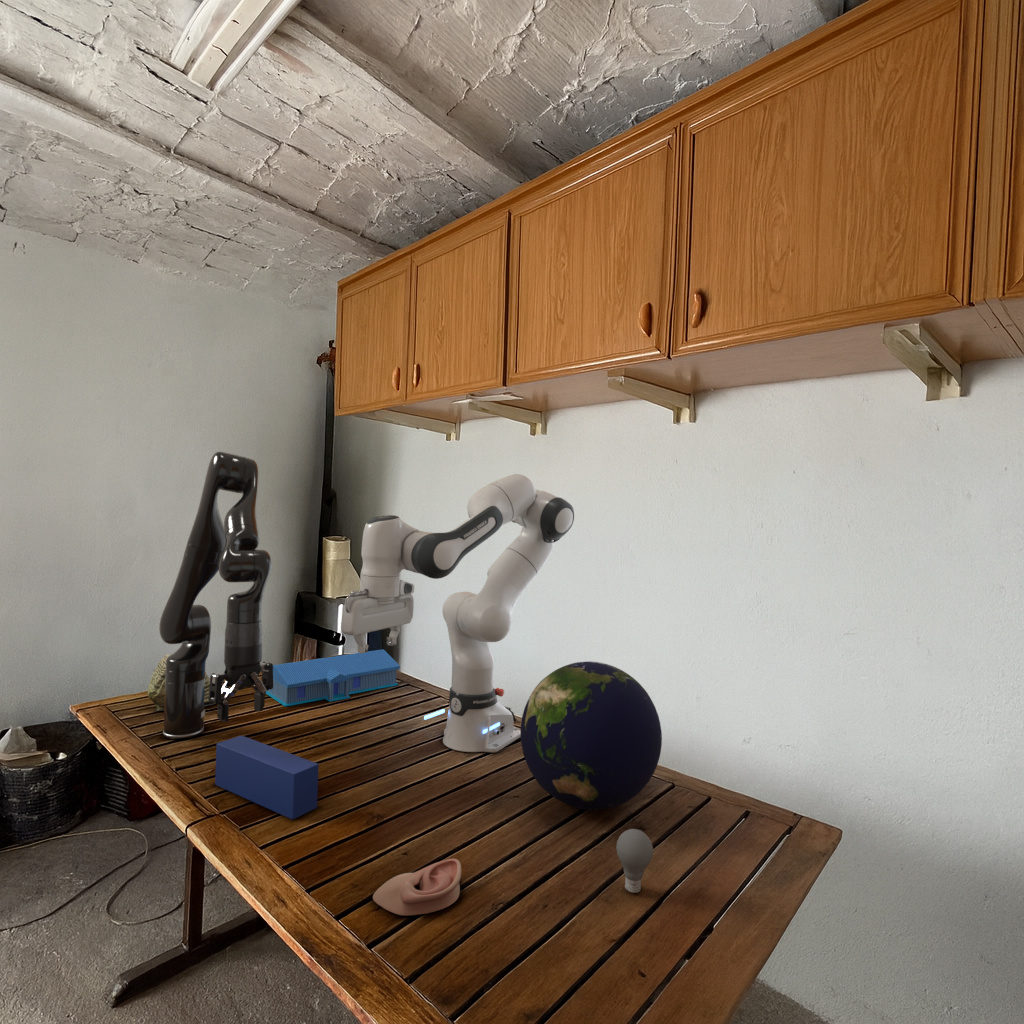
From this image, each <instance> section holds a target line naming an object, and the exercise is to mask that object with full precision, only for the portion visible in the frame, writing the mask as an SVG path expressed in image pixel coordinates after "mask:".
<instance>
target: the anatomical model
mask: <svg viewBox="0 0 1024 1024" xmlns="http://www.w3.org/2000/svg"><path fill="white" fill-rule="evenodd" d="M461 879H462V864H461V862H460V860H459V859H457V858H448V859H447V858H446V859H444V860H443V859H442V860H440V861H437V862H435V863H432V864H430V865H428V866H425V867H423V868H421V869H419V870H417V871H414V872H404V873H401V874H397V875H395V876H393V877H392V878H390V879H388V880H387V881H385V882H384V883H383V884H382V885H381V886H379V887H378V888H377V890H376V891H375V892H374V893H373V895H372V900H373V902H374V903H376V904H377V905H378V906H380V907H381V908H382V909H384V910H386V911H388V912H390V913H392V914H394V915H397V916H403V917H404V916H405V917H407V916H417V915H423V914H430V913H435V912H437V911H441V910H444V909H445V908H448V907H450V906H451V905H452V904H455V902H456V901H457V900H458V899H459V897H460V893H461V885H460V881H461Z"/></svg>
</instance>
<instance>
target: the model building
mask: <svg viewBox="0 0 1024 1024" xmlns="http://www.w3.org/2000/svg"><path fill="white" fill-rule="evenodd" d="M400 669H401V665H400V664H399V663H398V662H397V661H396V660H395V659H394V658H393V657H392V656H391V654H389V653H388V652H387V651H386V650H385V649H376V650H368V652H366V653H358V652H356V653H349V654H342V655H341V654H340V655H335V656H329V657H328V656H327V657H321V658H315V659H314V658H313V659H307V660H300V661H293V662H287V663H278V664H273V688H272V689H269V690H268V691H266V693H265V695H267V696H268V697H270V698H271V699H273V700H274V701H276V702H277V703H279V704H280V705H282V706H283V707H290V706H297V705H302V704H307V703H312V702H317V701H323V700H325V701H327V702H329V703H330V702H335V701H341V700H346V699H347V700H348V699H350V698H351V695H353V694H359V693H364V692H365V693H366V692H369V691H373V690H381V689H385V688H390V687H391V688H392V687H395V686H399V683H398V682H397V670H400Z"/></svg>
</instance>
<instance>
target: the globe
mask: <svg viewBox="0 0 1024 1024" xmlns="http://www.w3.org/2000/svg"><path fill="white" fill-rule="evenodd" d="M521 716H522V717H521V721H520V722H521V723H520V731H521V737H520V744H521V749H522V750H521V751H522V753H523V754H522V755H523V757H524V760H525V763H526V765H527V768H528V769H529V772H530V773H531V775H532V777H533V779H534V780H535V781H536V782H537V784H538V785H539V786H540V787H541V788H542V789H543V790H544V791H545V792H546V793H547V794H549V796H551V797H552V798H554V799H555V800H557V801H558V802H560V803H562V804H564V805H566V806H569V807H572V808H575V809H579V810H582V811H583V810H584V811H603V810H604V811H605V810H609V809H613V808H616V807H619V806H622V805H623V804H626V803H627V802H629V801H631V800H632V799H633V798H635V797H637V795H638V794H639V793H641V792H642V791H643V789H644V788H645V787H646V786H647V784H649V782H650V781H651V780H652V779H651V778H652V777H653V775H654V774H655V772H656V769H657V767H658V764H659V761H660V757H661V753H662V745H663V743H662V742H663V734H662V726H661V720H660V717H659V713H658V710H657V708H656V705H655V703H654V702H653V699H652V698H651V696H650V694H649V693H648V692H647V690H646V689H645V688H644V687H643V686H642V685H641V684H640V683H639V681H638V680H636V679H635V678H634V677H633V676H632V675H630V674H629V673H627V672H626V671H624V670H622V669H621V668H618V667H617V666H614V665H611V664H608V663H604V662H599V661H593V660H592V661H591V660H590V661H578V662H577V661H576V662H572V663H569V664H566V665H564V666H561V667H559V668H557V669H555V670H553V671H552V672H550V673H549V674H547V675H546V676H545V677H544V678H542V679H541V680H540V681H539V683H538V684H537V685H536V686H535V687H534V689H533V690H532V691H531V693H530V695H529V697H528V699H527V701H526V704H525V705H524V709H523V712H522V715H521Z"/></svg>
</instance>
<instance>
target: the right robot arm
mask: <svg viewBox="0 0 1024 1024" xmlns="http://www.w3.org/2000/svg"><path fill="white" fill-rule="evenodd" d="M467 501H468V502H467V506H466V509H467V515H468V519H466V520H465V521H463V522H462V523H460V524H459V525H457V526H456V527H454V528H453V529H452V530H449V531H445V532H430V531H429V532H428V531H423V530H419V529H418V528H415V527H413V526H411V525H409V524H408V523H406V522H404V521H403V520H402V519H401V518H400V517H399V515H392V514H390V515H389V514H388V515H379V516H374V517H371V518H370V519H368V520H367V521H366V522H365V525H364V528H363V533H362V541H361V553H360V554H361V559H362V567H361V570H360V577H359V579H360V580H359V590H353V591H350V592H349V594H348V596H346V598H345V600H344V605H343V609H342V615H341V621H340V630H341V632H342V634H344V635H348V636H353V639H354V641H355V643H356V645H357V653H366V652H369V644H367V643H366V641H365V639H366V636H367V634H368V633H372V632H377V631H381V630H386V629H389V630H390V631H389V635H388V637H386V643H385V645H387V646H390V647H392V646H396V645H397V640H398V639H397V638H398V636H399V634H400V632H401V630H402V629H401V627H402V625H403V626H404V625H408V624H410V623H411V622H412V620H413V619H414V618H413V617H414V608H415V607H414V606H415V605H414V603H415V601H414V600H415V599H414V596H413V594H414V592H415V584H414V583H412V582H411V583H410V582H409V581H405V580H403V579H401V576H402V575H401V574H402V573H401V572H402V571H403V570H406V571H409V572H412V573H416V574H420V575H423V576H425V577H428V578H430V579H432V580H433V579H435V580H437V579H442V578H445V577H447V576H449V575H450V574H452V572H453V571H454V570H455V569H456V567H457V566H458V565H459V563H460V562H462V559H464V557H465V556H466V555H468V554H469V553H471V551H473V550H474V549H476V548H477V547H478V546H480V545H481V544H482V543H484V542H485V541H486V540H488V539H489V538H490V537H492V536H493V535H494V534H495V533H497V532H498V531H499V530H500V529H501V528H503V527H504V526H506V525H508V524H509V523H511V522H512V523H514V524H517V525H519V526H520V527H521V530H520V533H519V535H518V536H517V537H516V538H515V539H514V540H512V542H510V544H509V545H508V546H507V547H506V548H505V549H504V550H503V551H502V553H501V554H500V555H499V556H498V557H497V558H496V559H495V561H494V562H493V563H492V564H491V566H490V567H489V568H488V570H487V573H486V574H487V575H486V576H487V578H486V581H485V583H484V585H483V586H482V589H481V590H480V591H479V592H478V593H475V592H471V591H459V592H453V593H451V594H450V595H448V597H447V598H446V599H445V600H444V602H443V604H442V616H443V619H444V621H445V623H446V627H447V633H448V638H449V643H450V645H449V646H450V652H451V662H452V663H451V686H450V688H449V692H448V702H449V706H448V712H447V718H446V726H445V728H444V729H443V739H442V744H443V745H444V746H446V747H447V748H449V749H451V750H454V751H458V752H463V753H465V752H466V753H480V752H481V753H483V752H484V753H498V752H499V751H501V750H502V749H505V748H506V747H507V746H509V745H510V744H512V743H514V742H515V741H516V740H518V739H519V738H520V739H521V729H519V727H515V726H514V725H515V724H514V723H515V722H517V721H518V720H517V718H516V716H515V713H514V712H513V711H512V707H509V706H504V705H503V704H501V703H500V702H499V701H498V697H503V696H504V694H505V690H504V688H500V687H496V688H494V681H495V680H494V679H495V659H494V655H493V654H492V651H491V649H490V645H489V643H497V642H500V641H502V640H504V639H505V638H506V637H507V635H509V633H510V630H511V628H512V620H513V619H512V614H513V611H514V609H515V606H516V604H517V603H518V600H519V598H521V595H522V594H523V593H524V591H525V590H526V589H527V588H528V586H529V585H530V584H531V582H532V581H533V580H534V579H535V577H537V575H538V574H539V572H540V571H541V570H542V569H543V567H544V566H545V564H546V563H547V561H548V559H549V558H550V557H551V554H552V552H553V551H554V543H556V542H558V541H560V540H561V539H562V537H564V536H565V535H566V534H567V533H568V532H569V531H570V530H571V528H572V526H573V524H574V521H575V510H574V507H573V505H572V504H571V503H570V502H568V501H567V500H566V499H565V498H562V497H558V496H556V495H554V494H552V493H550V492H547V491H545V490H539V489H536V488H535V486H534V483H533V481H531V479H530V478H529V477H527V476H526V475H524V474H519V473H517V474H512V475H511V474H510V475H508V476H505V477H503V478H500V479H497V480H495V481H492V482H490V483H488V484H487V485H485V486H483V487H482V488H480V489H479V490H477V491H475V492H474V493H473V494H472V495H471V496H470V497H469V498H468V500H467ZM497 696H498V697H497ZM445 710H446V709H439V710H437V711H435V712H432V713H429V714H426V715H424V717H423V720H425V721H426V720H429V719H431V718H434V717H437V716H439V715H442V714H445V712H446V711H445Z"/></svg>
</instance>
